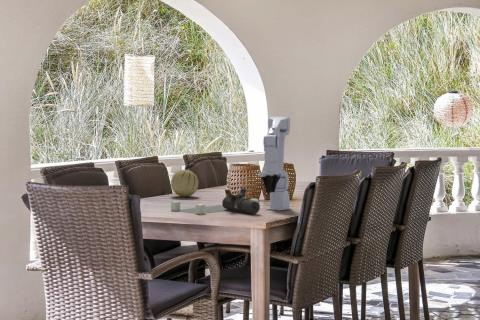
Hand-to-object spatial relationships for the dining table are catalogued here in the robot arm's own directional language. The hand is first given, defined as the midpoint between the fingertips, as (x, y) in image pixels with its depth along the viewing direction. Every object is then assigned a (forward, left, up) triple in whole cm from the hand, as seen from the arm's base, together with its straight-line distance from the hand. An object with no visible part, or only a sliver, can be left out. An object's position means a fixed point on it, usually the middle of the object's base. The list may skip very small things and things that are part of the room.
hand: (270, 192), depth 366 cm
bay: (0, -34, -10) cm, 35 cm away
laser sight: (0, -18, -11) cm, 21 cm away
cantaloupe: (-27, -82, -11) cm, 87 cm away
